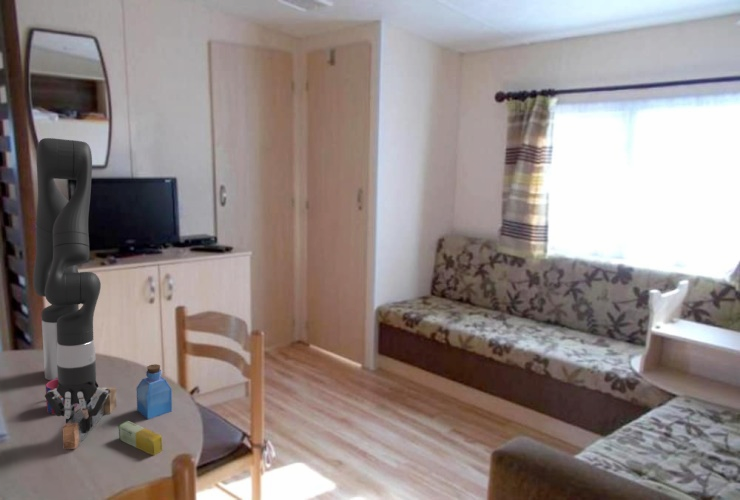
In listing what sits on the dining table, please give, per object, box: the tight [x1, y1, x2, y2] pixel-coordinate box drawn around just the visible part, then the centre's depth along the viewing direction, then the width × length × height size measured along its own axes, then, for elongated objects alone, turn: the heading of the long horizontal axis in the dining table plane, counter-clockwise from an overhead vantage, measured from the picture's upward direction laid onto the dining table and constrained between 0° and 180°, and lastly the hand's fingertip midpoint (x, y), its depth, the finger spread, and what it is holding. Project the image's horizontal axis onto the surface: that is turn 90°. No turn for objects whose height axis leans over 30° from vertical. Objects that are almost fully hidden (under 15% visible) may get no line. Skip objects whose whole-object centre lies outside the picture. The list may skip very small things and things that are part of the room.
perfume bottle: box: [136, 363, 173, 420], centre depth 133 cm, size 6×6×12 cm
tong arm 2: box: [69, 397, 105, 450], centre depth 122 cm, size 16×1×5 cm, turn 6°
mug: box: [45, 377, 78, 415], centre depth 134 cm, size 7×10×7 cm
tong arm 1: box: [62, 395, 97, 450], centre depth 122 cm, size 16×1×5 cm, turn 7°
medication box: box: [118, 420, 164, 456], centre depth 118 cm, size 12×3×4 cm, turn 61°
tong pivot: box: [94, 387, 117, 415], centre depth 132 cm, size 4×5×6 cm
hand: (79, 431), depth 119 cm, fingers open, 2 cm apart
